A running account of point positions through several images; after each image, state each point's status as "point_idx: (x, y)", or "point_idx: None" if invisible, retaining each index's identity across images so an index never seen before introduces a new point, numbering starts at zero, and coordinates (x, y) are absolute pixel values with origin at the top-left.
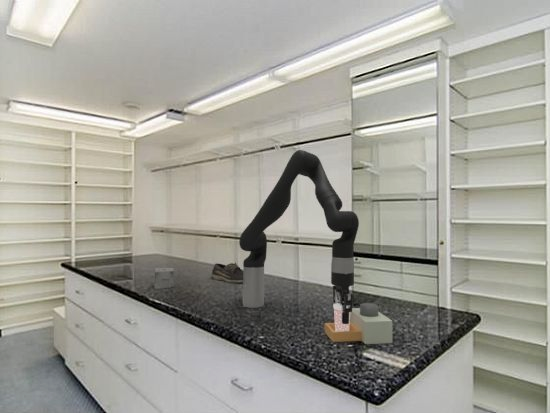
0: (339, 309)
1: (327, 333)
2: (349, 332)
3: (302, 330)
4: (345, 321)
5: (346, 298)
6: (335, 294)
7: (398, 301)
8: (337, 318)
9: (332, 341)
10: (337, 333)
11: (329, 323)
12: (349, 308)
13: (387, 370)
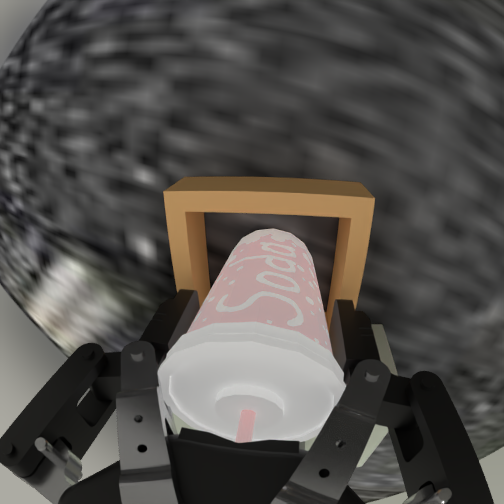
0: (173, 348)
1: (294, 180)
2: (179, 289)
3: (407, 59)
4: (161, 310)
5: (14, 433)
6: (327, 486)
7: (477, 457)
8: (222, 284)
9: (190, 177)
10: (169, 219)
11: (359, 230)
12: (93, 394)
13: (7, 272)
